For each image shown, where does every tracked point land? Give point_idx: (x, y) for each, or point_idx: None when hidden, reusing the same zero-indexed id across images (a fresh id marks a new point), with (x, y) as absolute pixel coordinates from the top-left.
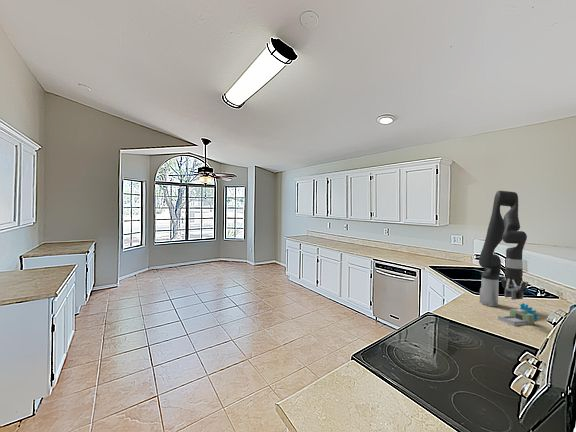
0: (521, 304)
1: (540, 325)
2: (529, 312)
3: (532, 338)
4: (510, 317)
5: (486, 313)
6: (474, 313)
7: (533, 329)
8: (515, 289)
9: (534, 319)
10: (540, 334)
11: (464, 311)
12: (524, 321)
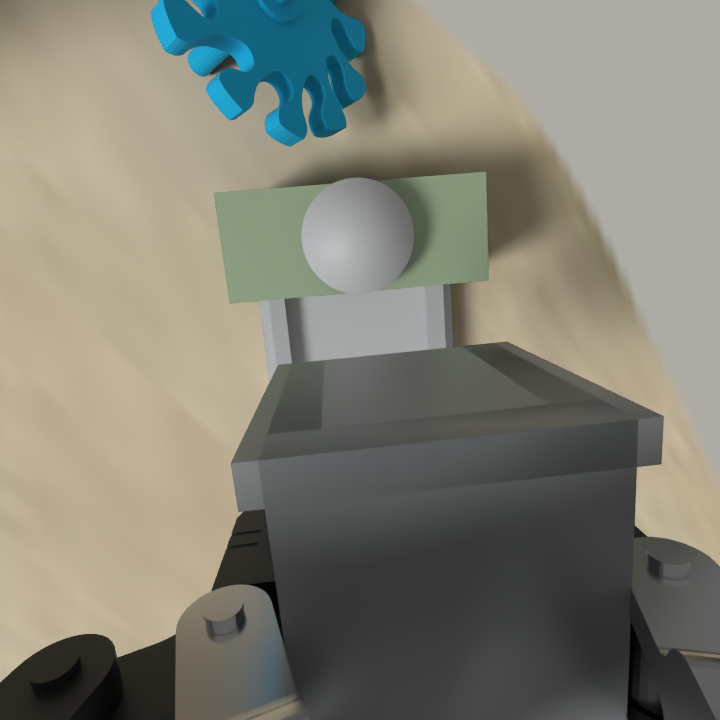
0: (175, 24)
1: (495, 152)
2: (293, 21)
3: (692, 532)
4: (289, 330)
5: (90, 439)
6: (87, 567)
7: (559, 343)
8: (525, 666)
9: (361, 52)
10: (657, 390)
11: (20, 625)
12: (442, 307)
